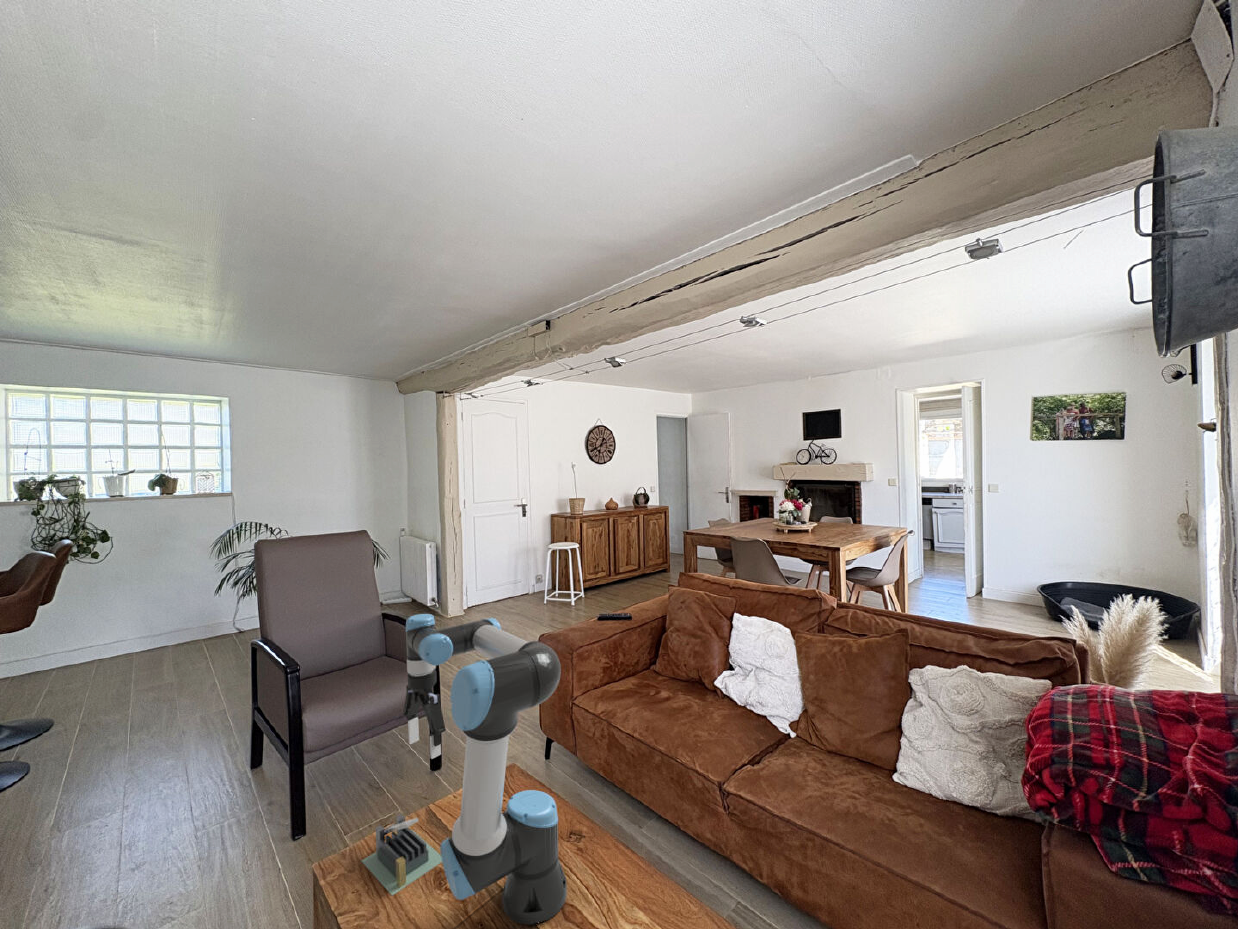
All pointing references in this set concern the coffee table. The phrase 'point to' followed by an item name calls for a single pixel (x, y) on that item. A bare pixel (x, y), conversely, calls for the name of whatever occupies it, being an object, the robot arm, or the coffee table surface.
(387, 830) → the grey flat bar
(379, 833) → the pivot bracket
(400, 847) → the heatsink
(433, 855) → the board
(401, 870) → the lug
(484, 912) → the coffee table surface
